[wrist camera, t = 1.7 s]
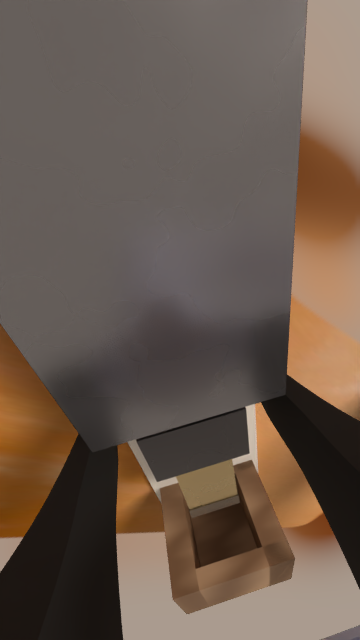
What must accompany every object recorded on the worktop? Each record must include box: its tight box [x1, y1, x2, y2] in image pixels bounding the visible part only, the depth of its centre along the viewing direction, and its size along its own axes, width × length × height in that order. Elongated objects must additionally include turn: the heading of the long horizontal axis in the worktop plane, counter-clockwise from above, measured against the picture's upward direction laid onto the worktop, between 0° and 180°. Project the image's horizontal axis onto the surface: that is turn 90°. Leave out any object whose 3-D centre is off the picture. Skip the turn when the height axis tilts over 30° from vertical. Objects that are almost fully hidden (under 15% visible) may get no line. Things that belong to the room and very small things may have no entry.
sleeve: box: [0, 0, 307, 452], centre depth 7 cm, size 6×10×6 cm, turn 11°
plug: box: [136, 407, 250, 518], centre depth 11 cm, size 4×19×5 cm, turn 11°
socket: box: [160, 460, 295, 614], centre depth 20 cm, size 8×5×6 cm, turn 101°
